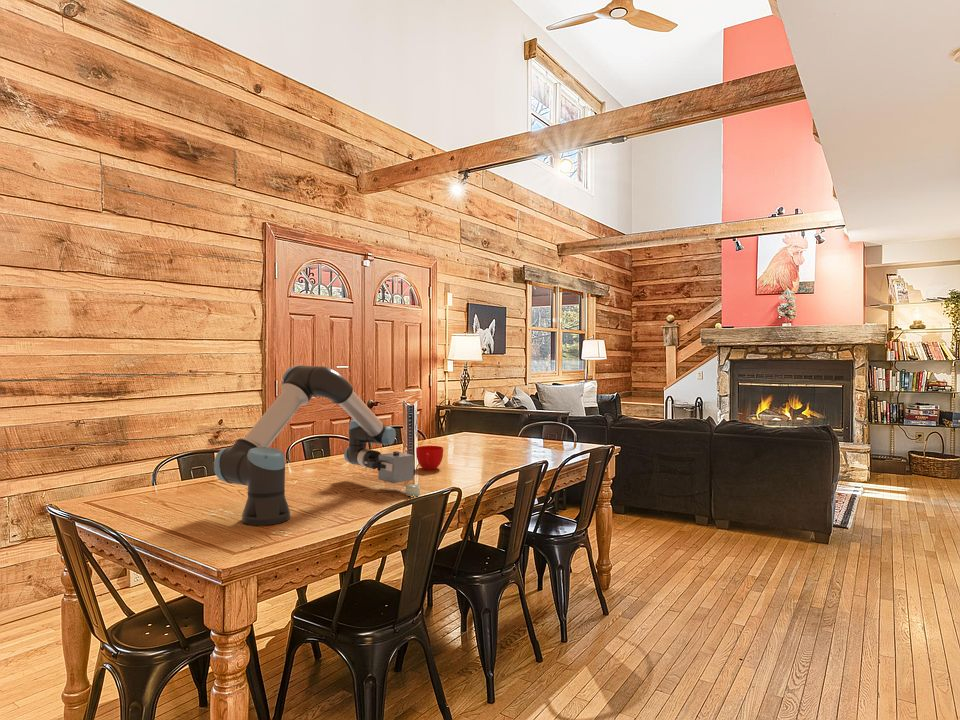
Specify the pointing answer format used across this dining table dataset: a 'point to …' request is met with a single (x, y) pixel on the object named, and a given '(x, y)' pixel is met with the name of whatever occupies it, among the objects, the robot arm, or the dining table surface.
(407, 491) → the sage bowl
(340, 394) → the robot arm
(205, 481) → the dining table surface
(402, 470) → the metal cover
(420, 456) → the ceramic cup
